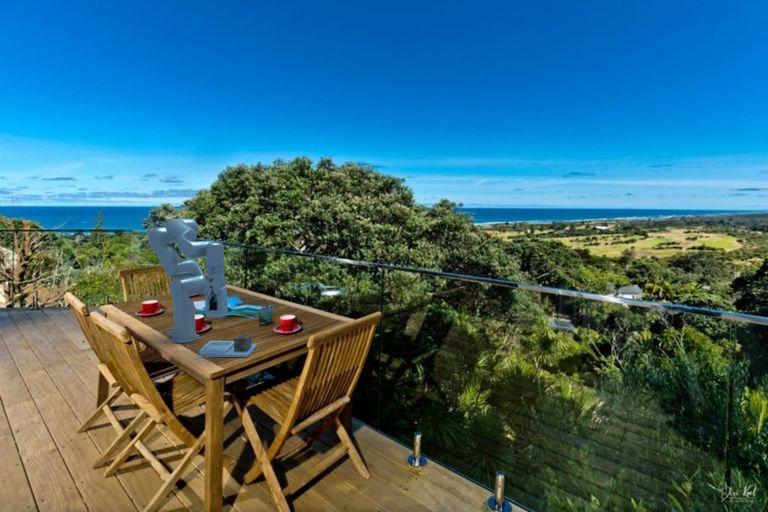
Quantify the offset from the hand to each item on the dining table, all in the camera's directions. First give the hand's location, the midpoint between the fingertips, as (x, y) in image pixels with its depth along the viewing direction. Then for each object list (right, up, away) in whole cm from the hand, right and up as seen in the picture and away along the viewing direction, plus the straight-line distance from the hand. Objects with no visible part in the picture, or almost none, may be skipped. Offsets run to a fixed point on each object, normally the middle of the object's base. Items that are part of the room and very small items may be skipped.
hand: (216, 307), depth 177 cm
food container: (+10, -16, +47) cm, 50 cm away
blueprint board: (+5, -21, +3) cm, 22 cm away
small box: (0, -4, 0) cm, 4 cm away
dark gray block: (+11, -20, +3) cm, 23 cm away
